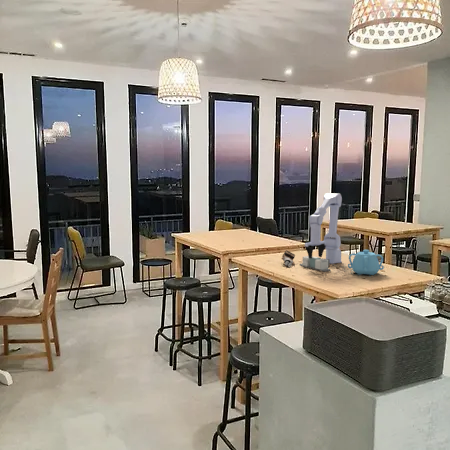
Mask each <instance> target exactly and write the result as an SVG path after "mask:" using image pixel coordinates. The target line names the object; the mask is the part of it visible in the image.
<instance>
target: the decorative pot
mask: <svg viewBox="0 0 450 450" xmlns="http://www.w3.org/2000/svg"><path fill="white" fill-rule="evenodd" d="M352 256H354V257H353V259H352ZM378 257H380V258H381V259H380V261H379V259H378ZM348 260H349V263H348V264H347V268H349V269H352V271H353V272H354V273H355V274H357V275H358V276H361V275H369V276H371V275H373V276H375V275H376V274H377V273H379V271H381V270H384V268H385V267H384V265H383V262H384V257H383V255H381V254H377V253H375V252H371V251H370V250H369V249H363V250H362V251H358V252H356V253H355V252H354V253H350V254H349V255H348Z"/></svg>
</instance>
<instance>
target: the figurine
mask: <svg viewBox="0 0 450 450" xmlns="http://www.w3.org/2000/svg"><path fill="white" fill-rule="evenodd" d="M295 256H296V255H295V254H294V253H293V252H291V251H290V250H285V251H284V253H283V254H282V256H281V260H283V263H284V265H285V266H288V267H289V268H291V266H295V265H296V264H295V262H294V259H295Z"/></svg>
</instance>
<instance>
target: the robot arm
mask: <svg viewBox="0 0 450 450" xmlns="http://www.w3.org/2000/svg"><path fill="white" fill-rule="evenodd" d="M342 201H343V198H342V194H341V193H339V192H338V193H335V192H334V193H331V192H325V193H324V195H323V202H322V204H321V205H320V206H319V207H317V208H316V210H315V212H314V213H313V214H311V215H309V219H308V223H309V228H310V241H309V242H305V243H304V247H305V251H306V253H307V254H308V255H307V256H309V258H312V256H313V251H314V246H317V250H318V251H317V252H318V253H317V254H318V256H317V257H319V258H322V256H323V253H324V251H325V259H330V261H329V265H330V264H331V265H332V264H337V263H338V264H339V263H342V262H343V261H342V251H341V249H340V247H341V245H342V243H341V242H342V241H341V236H340V235H339V234H338V233H337V230H338V220H339V213H340V212H339V211H340V208H341V206H342ZM328 208H330V214H329V224H328V233H326V234H325V235H324V239H323V240H321V235H322V234H321V231H322V230H321V225H322V224H323V220H324V216H325V215H326V213H327V209H328Z"/></svg>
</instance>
